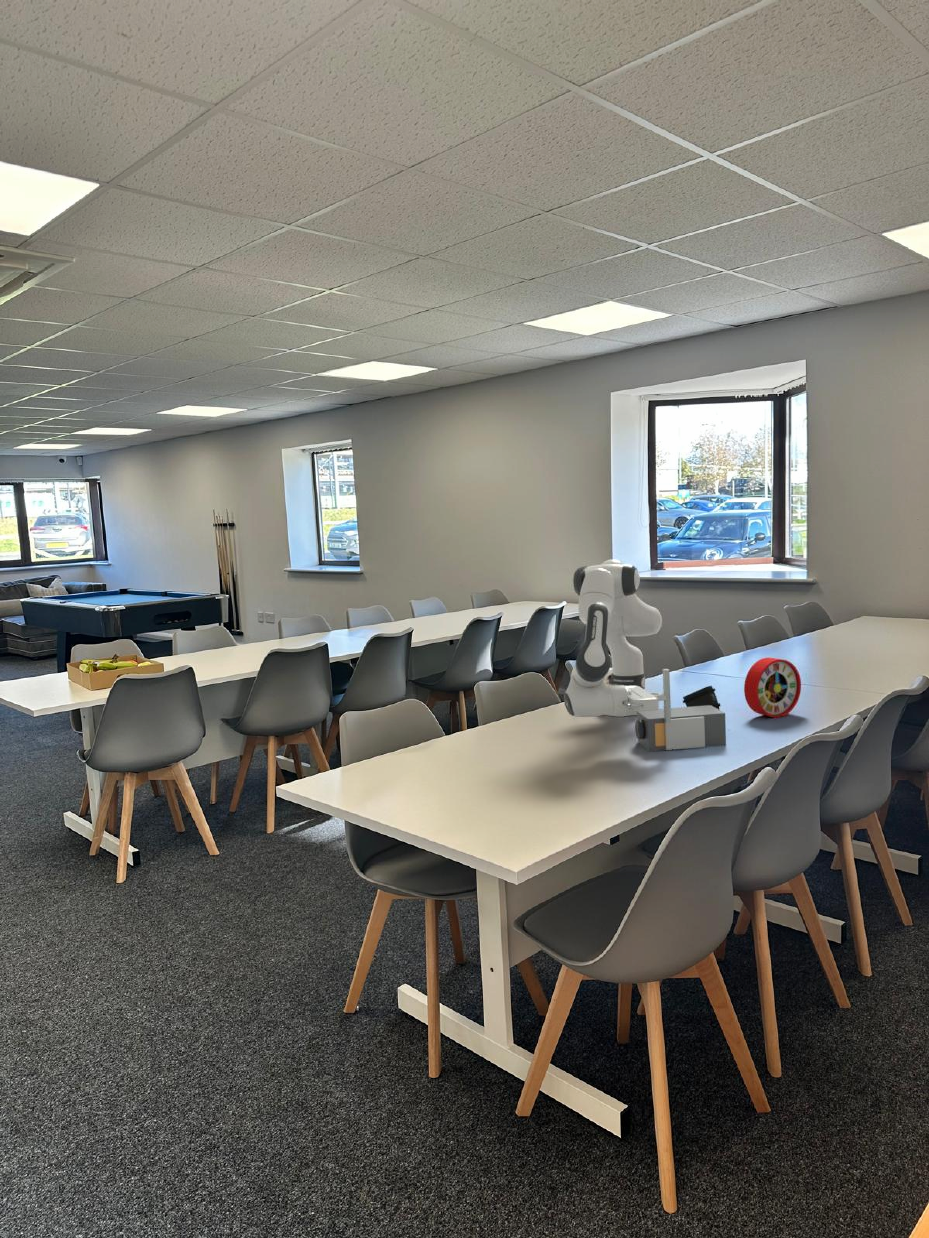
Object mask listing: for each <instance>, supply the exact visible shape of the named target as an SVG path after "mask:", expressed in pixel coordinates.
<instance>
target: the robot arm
mask: <svg viewBox="0 0 929 1238" xmlns="http://www.w3.org/2000/svg"><path fill="white" fill-rule="evenodd" d="M640 579H641V578H640V574H639V570H638V568H637V567H636V566H634V565H633V564H629V563H623V562H621V560H618V559H615V558H613V559H611V558H610V559H607V560H605V561H604V562H602V563H601V564H596V565H591V566H590V565H589V566H588V565H584V566H580V567H578V568H577V569H576V570H575V571H574V573H573V578H572V585H573V589H574V593H575V594H577V596H579V598H578V617H579V620H580V621H581V622H582V623H583V624H584V625H585V633H584V634H585V636H584V644H583V646H582V647H581V649H580V650H579V651H578V654H577V655H576V659H575V662H574V665H573V668H572V671H571V675H570V680H569V683H568V686H567V689H566V690H565V692H564V693H563V701H564V706H565V708H566V711H567V712H568V714H569V715H570V716H572V717H576V718H596V717H599V716H603V715H604V716H612V717H618V718H620V717H629V716H637V711H656V710H658V709H659V708H660V707H659V706H660V705H659V703H660V702H664V701H665V700H666V696H665V695H664V694H663V692H652V691H651V692H648V691H647V690H646V689H645V688H646V675H645V672H644V657H643V656H644V655H643V652H642V651H641V650H640V648H638V647H636V646H635V645H632V644H631V643H630V642H628V640H627V639H626V637H647V636H651V635H656V634H658V632H659V631H660V630H661V628H662V625H663V617H662V614H661V613H660V611H659V609H658V608H657V607H654V606H651V605H649V604H647V603H646V602H644V601H643V600H642V599H641V598H639V596H637V594H636V592H638V589H639V588H640V587H639V586H640V583H641V581H640ZM607 646H608V647H607ZM607 648H608V649H607ZM608 650H609V651H608ZM609 652H610V654H609ZM611 664H612V665H611ZM610 668H613V673H612V674H611V675H609V676H608V677H607V680H608V679H609V684H607V685H606V686H605V685H604V683H603V679H604V677H605V675H606V674H607V672H608V671H609V669H610Z"/></svg>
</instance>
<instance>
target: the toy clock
mask: <svg viewBox="0 0 929 1238" xmlns="http://www.w3.org/2000/svg"><path fill="white" fill-rule="evenodd" d="M743 685H744V687H743V692H744V693H743V694H744V698H745V701H746V703H747V705H748V707H749V708H750V709H751V711H753V712H754V713H756V714H759V715H762V716H767V717H770V718H776V717H777V718H781V717H780V716H782V717H785V716H786V715H788V714H789V713H791V711H793V709H795V707H796V706H797V704H798V701H799V699H800V696H801V693H802V692H801V691H802V679H801V676H800V672H799V671H798V669H797V667H796V666H795V664H793V663H792V662H790V661H789V660H786V659H782V658H776V657H763V658H760V659H759V660H757V661H755V663H753V665H752V666H751V667H750V668H749V669H748V672H747V674H746V677H745V679H744V683H743Z"/></svg>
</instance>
